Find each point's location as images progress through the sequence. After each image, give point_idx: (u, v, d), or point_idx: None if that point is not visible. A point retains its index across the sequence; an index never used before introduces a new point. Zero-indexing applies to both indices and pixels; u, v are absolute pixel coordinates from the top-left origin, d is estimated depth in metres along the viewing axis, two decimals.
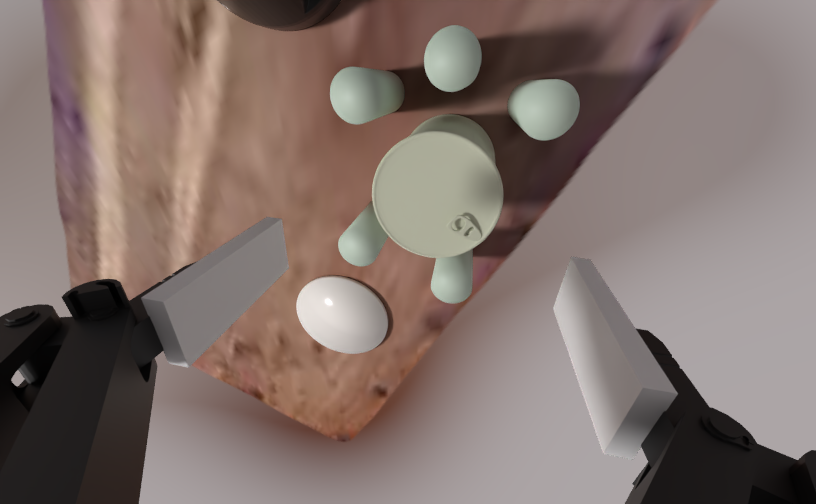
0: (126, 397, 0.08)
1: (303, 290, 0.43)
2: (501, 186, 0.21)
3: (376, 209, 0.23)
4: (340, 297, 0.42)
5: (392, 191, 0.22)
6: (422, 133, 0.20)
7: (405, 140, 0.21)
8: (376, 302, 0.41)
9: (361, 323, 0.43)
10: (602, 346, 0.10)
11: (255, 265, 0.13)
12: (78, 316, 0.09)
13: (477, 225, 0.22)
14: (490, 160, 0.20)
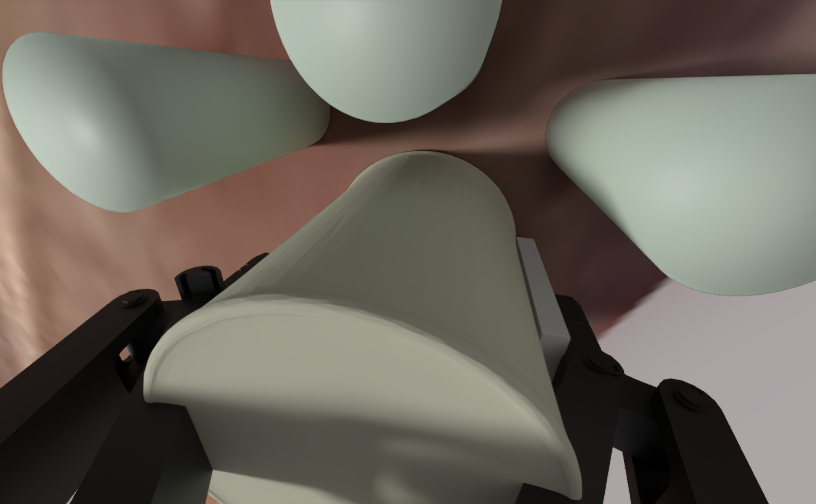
0: None
1: None
2: (578, 487, 0.05)
3: None
4: None
5: (211, 436, 0.07)
6: (254, 302, 0.05)
7: (198, 319, 0.05)
8: None
9: None
10: None
11: None
12: (185, 296, 0.10)
13: None
14: (541, 417, 0.05)
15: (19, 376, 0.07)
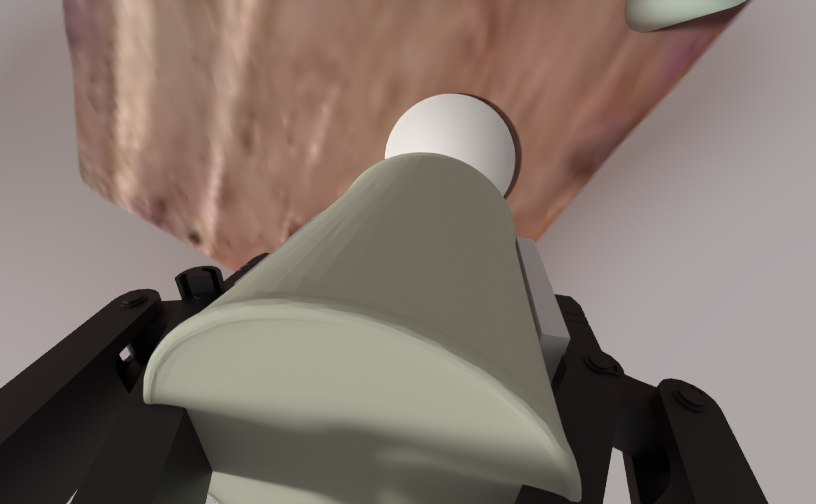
0: None
1: (399, 122, 0.31)
2: (577, 491, 0.05)
3: None
4: (452, 128, 0.30)
5: (211, 439, 0.07)
6: (254, 307, 0.05)
7: (198, 323, 0.05)
8: (505, 131, 0.30)
9: None
10: None
11: None
12: (185, 296, 0.10)
13: None
14: (541, 422, 0.05)
15: (20, 375, 0.07)
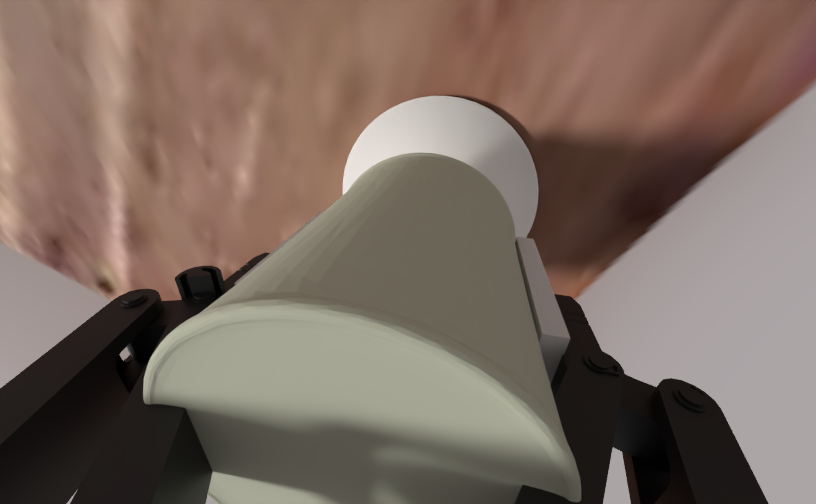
0: None
1: (361, 139, 0.20)
2: (577, 492, 0.05)
3: None
4: (441, 149, 0.20)
5: (211, 439, 0.07)
6: (254, 308, 0.05)
7: (198, 324, 0.05)
8: (523, 154, 0.19)
9: None
10: None
11: None
12: (185, 296, 0.10)
13: None
14: (541, 423, 0.05)
15: (20, 375, 0.07)
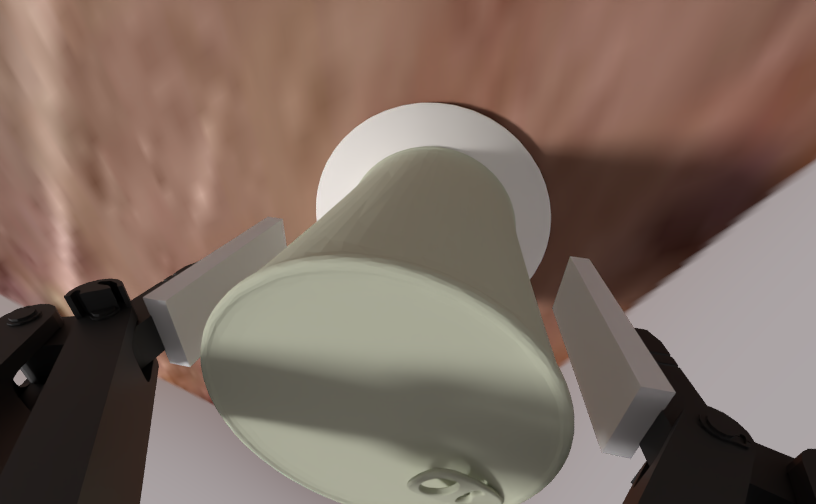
0: (128, 396, 0.08)
1: (335, 154, 0.17)
2: (571, 417, 0.07)
3: (225, 418, 0.09)
4: None
5: (256, 389, 0.08)
6: (308, 262, 0.06)
7: (259, 278, 0.06)
8: (533, 175, 0.15)
9: None
10: (601, 345, 0.10)
11: (256, 265, 0.13)
12: (80, 316, 0.09)
13: (491, 480, 0.08)
14: (541, 354, 0.06)
15: None
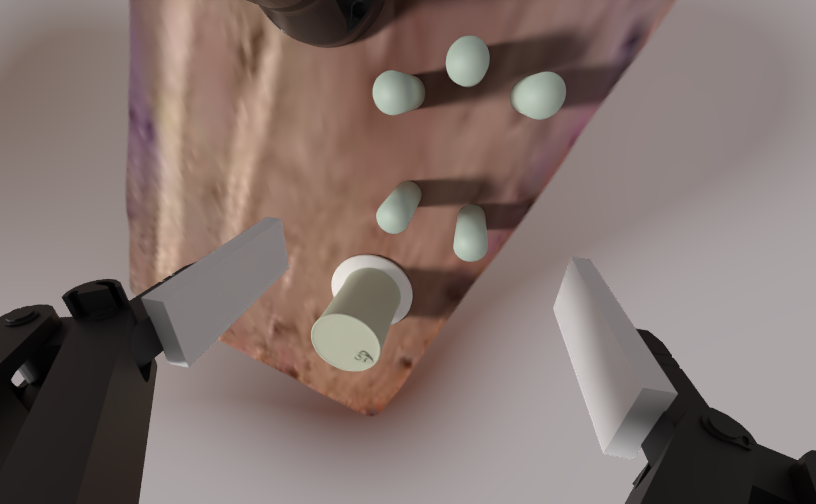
0: (126, 397, 0.08)
1: (338, 269, 0.49)
2: (378, 339, 0.38)
3: (314, 346, 0.41)
4: None
5: (322, 338, 0.40)
6: (333, 314, 0.38)
7: (325, 317, 0.38)
8: (402, 276, 0.47)
9: None
10: (602, 346, 0.10)
11: (255, 265, 0.13)
12: (78, 316, 0.09)
13: (370, 356, 0.40)
14: (369, 328, 0.38)
15: None
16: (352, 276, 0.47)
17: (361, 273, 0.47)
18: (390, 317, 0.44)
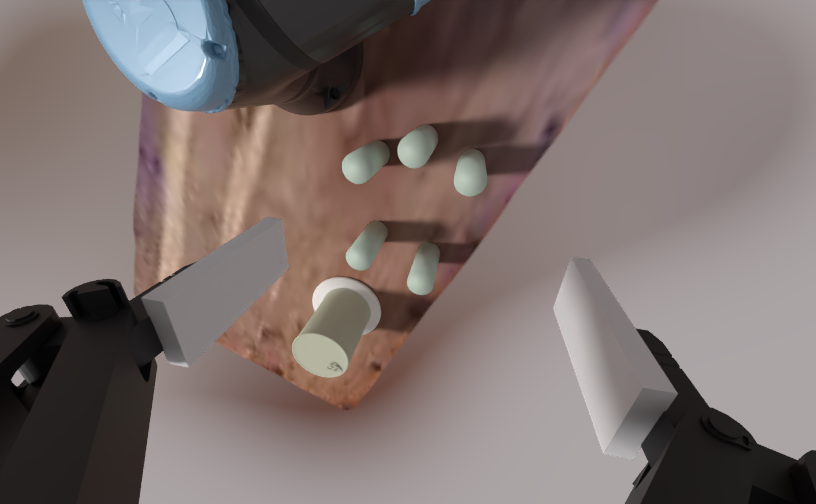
0: (126, 397, 0.08)
1: (318, 287, 0.57)
2: (346, 354, 0.47)
3: (294, 356, 0.49)
4: None
5: (301, 350, 0.49)
6: (309, 333, 0.46)
7: (303, 335, 0.47)
8: (372, 296, 0.56)
9: None
10: (602, 346, 0.10)
11: (255, 265, 0.13)
12: (78, 316, 0.09)
13: (340, 366, 0.49)
14: (339, 345, 0.46)
15: None
16: (329, 295, 0.55)
17: (337, 293, 0.55)
18: (359, 333, 0.52)
